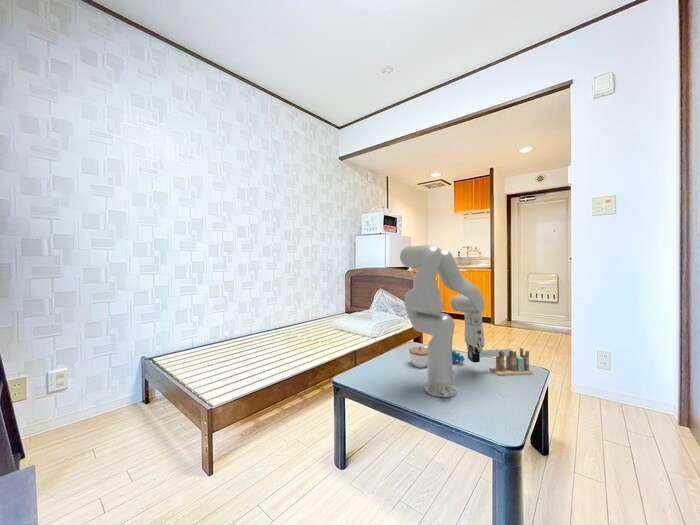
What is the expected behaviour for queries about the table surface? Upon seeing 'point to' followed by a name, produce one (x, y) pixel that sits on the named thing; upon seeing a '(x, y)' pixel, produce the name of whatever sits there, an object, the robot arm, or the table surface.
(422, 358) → the lidded jar
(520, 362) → the block
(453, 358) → the blue coral
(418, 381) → the table surface
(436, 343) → the robot arm
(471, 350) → the grey mallet
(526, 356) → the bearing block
